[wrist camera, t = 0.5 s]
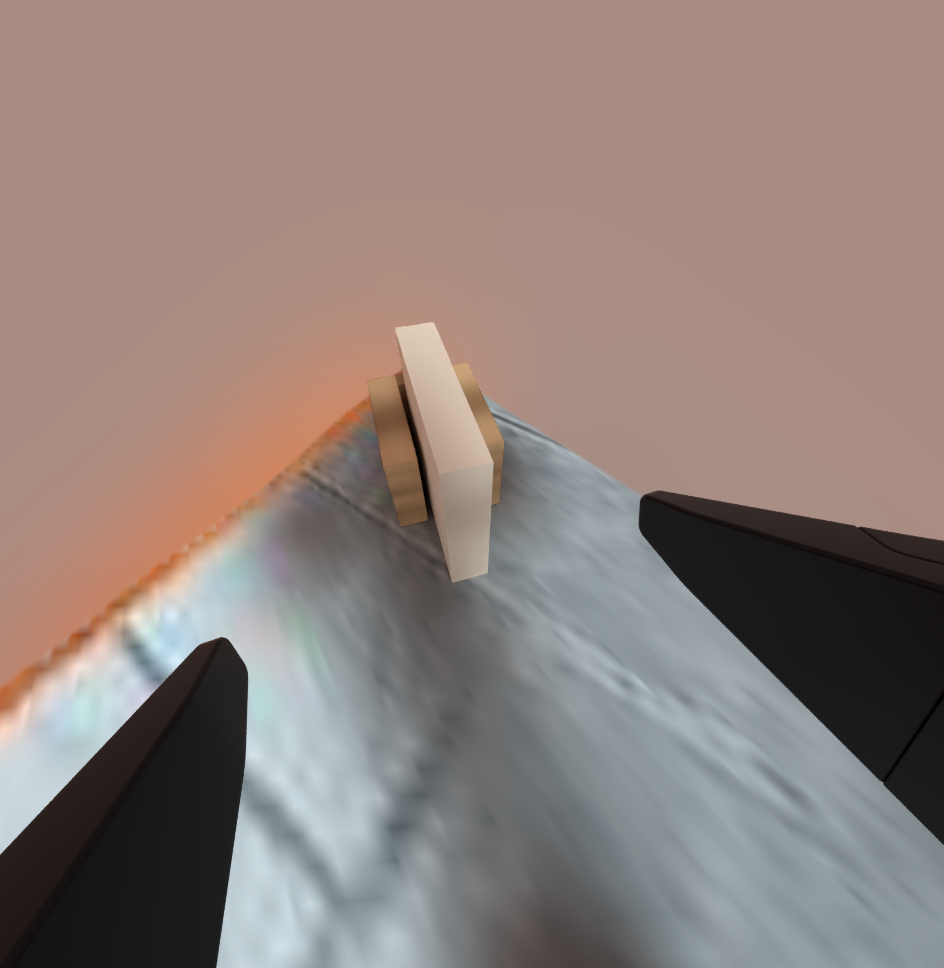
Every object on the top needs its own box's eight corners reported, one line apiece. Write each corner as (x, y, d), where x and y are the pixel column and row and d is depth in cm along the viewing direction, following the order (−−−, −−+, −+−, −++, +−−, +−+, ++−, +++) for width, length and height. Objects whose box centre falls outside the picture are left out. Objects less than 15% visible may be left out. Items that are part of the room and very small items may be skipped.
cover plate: (487, 573, 25) (493, 462, 17) (451, 583, 25) (439, 474, 16) (444, 446, 32) (433, 322, 24) (416, 452, 32) (394, 328, 23)
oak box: (499, 502, 29) (504, 441, 23) (400, 526, 27) (383, 467, 22) (468, 426, 34) (467, 362, 29) (384, 444, 32) (366, 380, 27)
